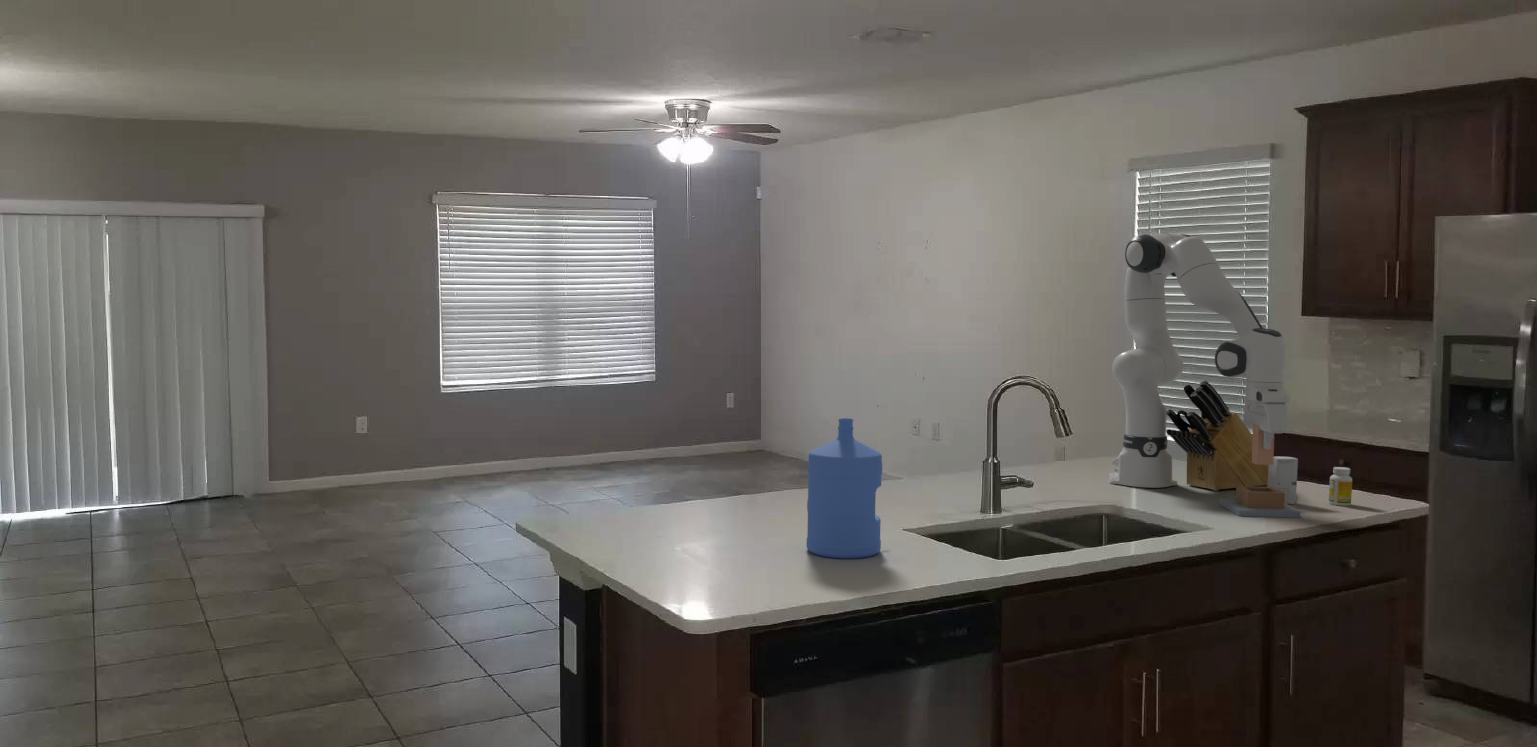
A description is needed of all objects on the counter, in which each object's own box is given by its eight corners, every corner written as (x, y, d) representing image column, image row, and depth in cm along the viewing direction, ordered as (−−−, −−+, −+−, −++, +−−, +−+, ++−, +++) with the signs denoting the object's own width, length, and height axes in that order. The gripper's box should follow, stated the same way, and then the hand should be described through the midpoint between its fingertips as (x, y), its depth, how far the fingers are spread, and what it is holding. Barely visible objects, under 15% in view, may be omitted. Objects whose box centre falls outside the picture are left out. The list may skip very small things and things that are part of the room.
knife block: (1159, 487, 334) (1163, 378, 332) (1250, 480, 349) (1255, 375, 347) (1189, 494, 324) (1193, 381, 322) (1281, 486, 339) (1287, 378, 337)
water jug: (838, 563, 239) (840, 425, 237) (791, 548, 251) (793, 417, 249) (896, 553, 248) (898, 420, 246) (848, 539, 260) (850, 413, 258)
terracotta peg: (1251, 462, 302) (1252, 423, 301) (1267, 462, 301) (1269, 423, 301) (1257, 464, 298) (1258, 425, 297) (1273, 464, 297) (1274, 425, 297)
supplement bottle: (1324, 503, 312) (1326, 467, 312) (1334, 501, 316) (1336, 465, 315) (1345, 506, 308) (1347, 470, 307) (1354, 504, 312) (1356, 468, 311)
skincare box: (1275, 504, 310) (1277, 458, 309) (1265, 501, 315) (1267, 456, 314) (1297, 504, 311) (1299, 458, 310) (1287, 500, 316) (1289, 455, 315)
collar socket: (1219, 504, 309) (1220, 483, 308) (1279, 506, 308) (1279, 485, 307) (1238, 515, 294) (1239, 493, 293) (1300, 517, 293) (1301, 495, 292)
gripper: (1238, 389, 309) (1236, 442, 310) (1265, 396, 289) (1263, 452, 290) (1263, 389, 309) (1261, 442, 309) (1292, 396, 288) (1290, 452, 289)
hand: (1262, 447), depth 299 cm, fingers closed on terracotta peg, 4 cm apart
